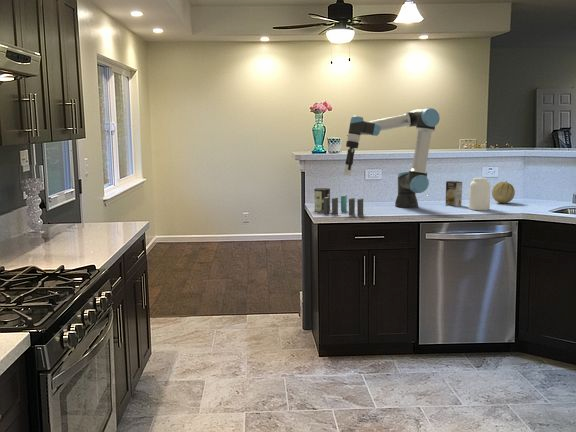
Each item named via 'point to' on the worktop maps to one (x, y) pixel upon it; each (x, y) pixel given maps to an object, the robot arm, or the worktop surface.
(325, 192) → the coffee can
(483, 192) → the cream jar
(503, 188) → the cantaloupe
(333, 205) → the domino
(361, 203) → the domino
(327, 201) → the domino
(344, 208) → the teal domino
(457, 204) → the coffee box
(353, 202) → the domino
